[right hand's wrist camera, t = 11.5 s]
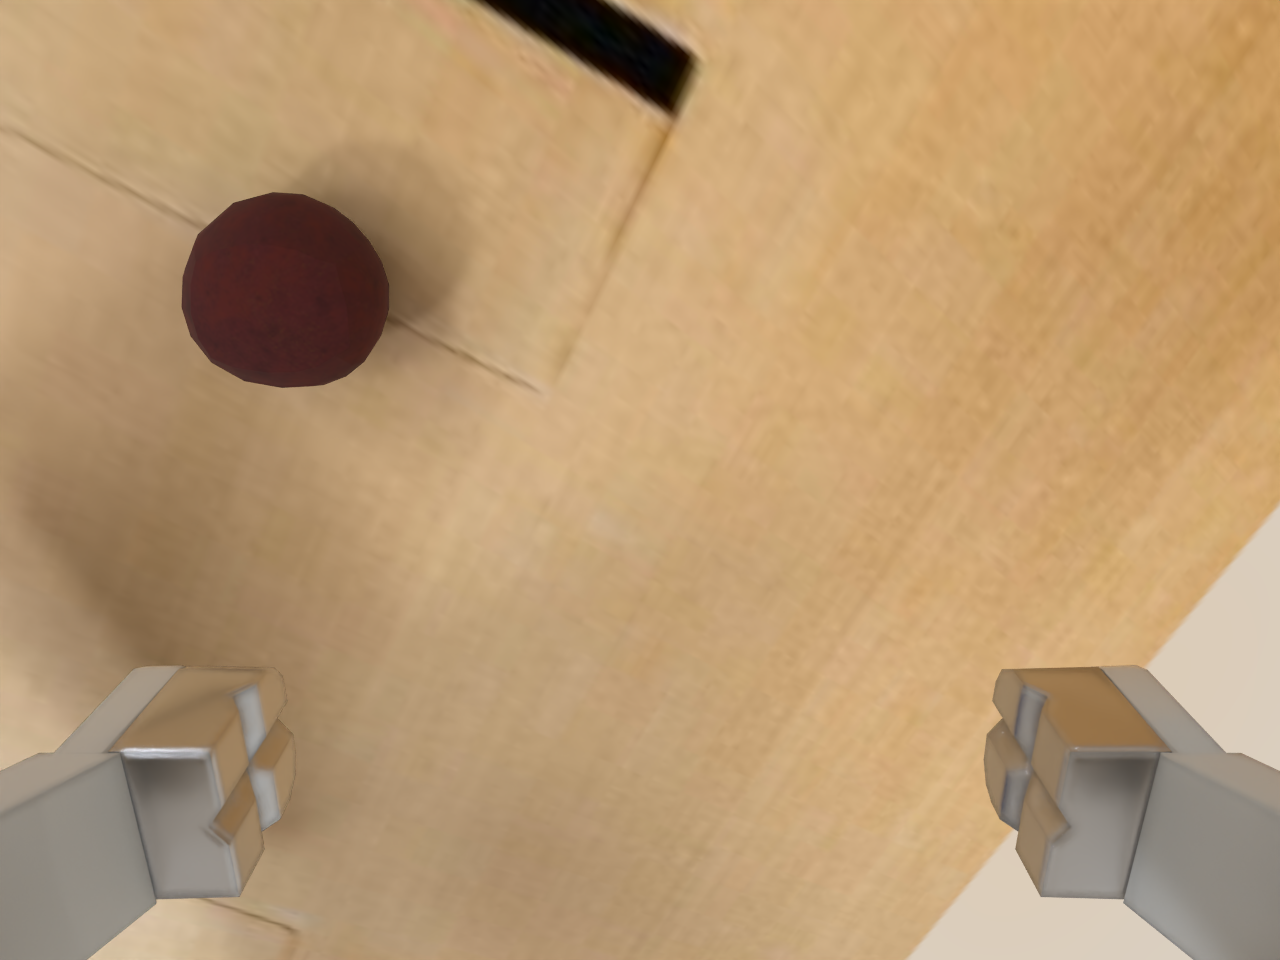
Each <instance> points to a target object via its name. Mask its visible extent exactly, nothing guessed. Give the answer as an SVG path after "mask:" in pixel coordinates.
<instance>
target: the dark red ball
mask: <svg viewBox="0 0 1280 960" xmlns="http://www.w3.org/2000/svg"><path fill="white" fill-rule="evenodd" d="M182 310H183V313H184V316H185V319H186V323H187V326H188V329H189V332H190V335H191V337H192V338H193V340H194V341H195V342H196V343H197V345H198V346H199V347H200V349H201V350H202V351H203V352H204V354H205V355H206V356H207V357H208V359H209V360H210V361H211V362H212V363H213V364H215V365H217V366H219V367H220V368H222V369H224V370H226V371H227V372H229V373H231V374H233V375H235V376H236V377H238V378H240V379H242V380H244V381H247V382H253V383H258V384H264V385H270V386H275V387H281V388H285V387H304V386H317V385H325V384H327V383H330V382H332V381H335V380H338V379H340V378H343V377H345V376H347V375H348V374H349V373H351V372H352V371H353V370H354V369H356V368H357V367H358V366H359V365H361V364H362V363H363V362H364V361H365V360H366V358H367V357H368V355H369V353H370V352H371V350H372V349H373V347H374V346H375V344H376V343H377V341H378V339H379V338H380V336H381V334H382V331H383V327H384V324H385V321H386V317H387V314H388V310H389V284H388V280H387V277H386V274H385V271H384V268H383V265H382V262H381V260H380V258H379V257H378V255H377V253H376V252H375V250H374V248H373V247H372V245H371V243H370V242H369V240H368V239H367V238H366V237H365V236H364V235H363V234H362V232H361V231H360V230H359V229H358V228H357V227H356V226H355V224H354V223H353V222H352V221H350V220H349V219H348V218H346V217H345V216H344V215H343V214H341V213H340V212H339V211H337V210H336V209H335V208H333V207H331V206H328V205H326V204H324V203H322V202H319V201H317V200H315V199H312V198H310V197H308V196H306V195H303V194H289V193H275V192H272V193H269V194H265V195H261V196H257V197H254V198H250V199H246V200H243V201H239V202H235V203H233V204H232V205H231V206H230V207H228V208H227V209H226V210H225V211H224V212H223V213H222V214H221V215H219V216H218V217H217V218H216V219H215V220H214V221H213V222H211V223H210V224H209V225H208V226H207V227H206V228H205V229H204V230H202V231H201V232H200V233H199V234H198V236H197V238H196V241H195V243H194V246H193V248H192V251H191V254H190V257H189V259H188V262H187V265H186V268H185V271H184V275H183V285H182Z"/></svg>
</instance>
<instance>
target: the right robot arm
mask: <svg viewBox="0 0 1280 960" xmlns="http://www.w3.org/2000/svg"><path fill="white" fill-rule="evenodd" d="M287 701H288V700H287V695H286V691H285V686H284V681H283V676H282V675H281V674H280V673H279V672H278V671H277V670H276V669H275V668H263V667H213V666H188V667H185V666H144V667H139V668H135V669H133V670H132V671H131V672H130V673H129V674H128V675H127V676H126V677H125V679H124V680H123V681H122V682H121V683H120V684H119V685H118V686H117V687H116V688H115V689H114V690H113V691H112V692H111V693H110V694H109V695H108V696H107V697H106V699H105V700H104V701H103V702H102V703H101V704H100V705H99V706H98V707H97V708H96V709H95V710H94V711H93V712H92V713H91V714H90V715H89V716H88V717H87V719H86V720H85V721H84V722H83V723H82V724H81V725H80V726H79V727H78V728H77V729H76V730H75V731H74V732H73V733H72V734H71V735H70V736H69V737H68V739H67V740H66V741H65V742H64V743H63V744H62V745H61V746H60V747H59V748H58V749H57V750H56V751H55V752H54V753H38V754H36V755H34V756H32V757H29V758H27V759H25V760H23V761H21V762H19V763H17V764H14V765H12V766H10V767H8V768H6V769H4V770H2V771H0V960H87V959H88V958H90V957H91V956H92V955H93V954H95V953H96V952H97V951H98V950H99V949H101V948H102V947H103V946H104V945H106V944H107V943H108V942H109V941H111V940H112V939H113V938H114V937H116V936H117V935H118V934H119V933H121V932H122V931H123V930H124V929H126V928H127V927H128V926H129V925H130V924H132V923H133V922H134V921H135V920H137V919H138V918H139V917H140V916H142V915H143V914H144V913H145V912H147V911H148V910H149V909H150V908H152V907H153V906H154V905H155V904H156V899H181V898H216V897H240V895H241V893H242V891H243V889H244V887H245V885H246V883H247V881H248V880H249V878H250V876H251V874H252V872H253V870H254V868H255V866H256V864H257V863H258V861H259V859H260V857H261V855H262V853H263V851H264V843H263V837H262V831H263V830H265V829H266V828H268V827H269V826H271V825H272V824H274V823H275V822H277V821H278V820H280V819H281V817H282V815H283V812H284V810H285V808H286V806H287V804H288V802H289V800H290V797H291V792H292V788H293V783H294V779H295V774H296V751H295V744H294V737H293V734H292V733H291V732H290V731H289V730H288V729H287V728H286V727H285V725H284V724H283V723H282V722H281V721H280V720H279V719H278V716H279V714H280V713H281V711H282V709H283V708H284V706H285V704H286V703H287ZM992 701H993V703H994V704H995V706H996V708H997V709H998V711H999V713H1000V714H1001V716H1002V719H1001V720H1000V721H999V722H998V723H997V724H996V725H995V726H994V728H993V729H992V730H991V731H990V732H989V733H988V734H987V738H986V746H985V753H984V768H985V779H986V786H987V789H988V793H989V796H990V799H991V803H992V805H993V807H994V809H995V811H996V813H997V815H998V817H999V819H1000V820H1002V821H1003V822H1005V823H1006V824H1008V825H1009V826H1011V827H1012V828H1014V829H1015V830H1017V831H1018V837H1017V843H1016V851H1017V853H1018V855H1019V857H1020V859H1021V861H1022V862H1023V864H1024V866H1025V868H1026V870H1027V872H1028V874H1029V876H1030V878H1031V879H1032V881H1033V883H1034V885H1035V887H1036V889H1037V891H1038V893H1039V894H1040V896H1041V897H1062V898H1098V899H1124V902H1123V903H1124V904H1125V905H1126V906H1128V907H1129V908H1130V909H1131V910H1133V911H1134V912H1135V913H1136V914H1138V915H1139V916H1140V917H1141V918H1142V919H1144V920H1145V921H1146V922H1147V923H1149V924H1150V925H1151V926H1152V927H1154V928H1155V929H1156V930H1157V931H1159V932H1160V933H1161V934H1162V935H1164V936H1165V937H1166V938H1167V939H1168V940H1170V941H1171V942H1172V943H1173V944H1175V945H1176V946H1177V947H1178V948H1180V949H1181V950H1182V951H1183V952H1185V953H1186V954H1187V955H1188V956H1190V957H1191V958H1192V959H1193V960H1280V771H1278V770H1276V769H1274V768H1272V767H1270V766H1268V765H1265V764H1263V763H1261V762H1259V761H1257V760H1255V759H1253V758H1251V757H1248V756H1246V755H1244V754H1242V753H1226V752H1225V751H1224V750H1223V749H1222V748H1221V747H1220V746H1219V745H1218V744H1217V743H1216V742H1215V741H1214V740H1213V738H1212V737H1211V736H1210V735H1209V734H1208V733H1207V732H1206V731H1205V730H1204V729H1203V728H1202V727H1201V726H1200V725H1199V724H1198V723H1197V722H1196V721H1195V719H1194V718H1193V717H1192V716H1191V715H1190V714H1189V713H1188V712H1187V711H1186V710H1185V709H1184V708H1183V707H1182V706H1181V705H1180V704H1179V703H1178V702H1177V700H1176V699H1175V698H1174V697H1173V696H1172V695H1171V694H1170V693H1169V692H1168V691H1167V690H1166V689H1165V688H1164V687H1163V686H1162V685H1161V684H1160V683H1159V682H1158V680H1157V679H1156V678H1155V677H1154V676H1153V675H1152V674H1151V673H1150V672H1149V671H1148V670H1146V669H1144V668H1142V667H1139V666H1137V665H1125V666H1098V667H1074V668H1033V669H1002V670H1001V672H1000V674H999V676H998V678H997V680H996V683H995V689H994V695H993V700H992Z"/></svg>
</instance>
